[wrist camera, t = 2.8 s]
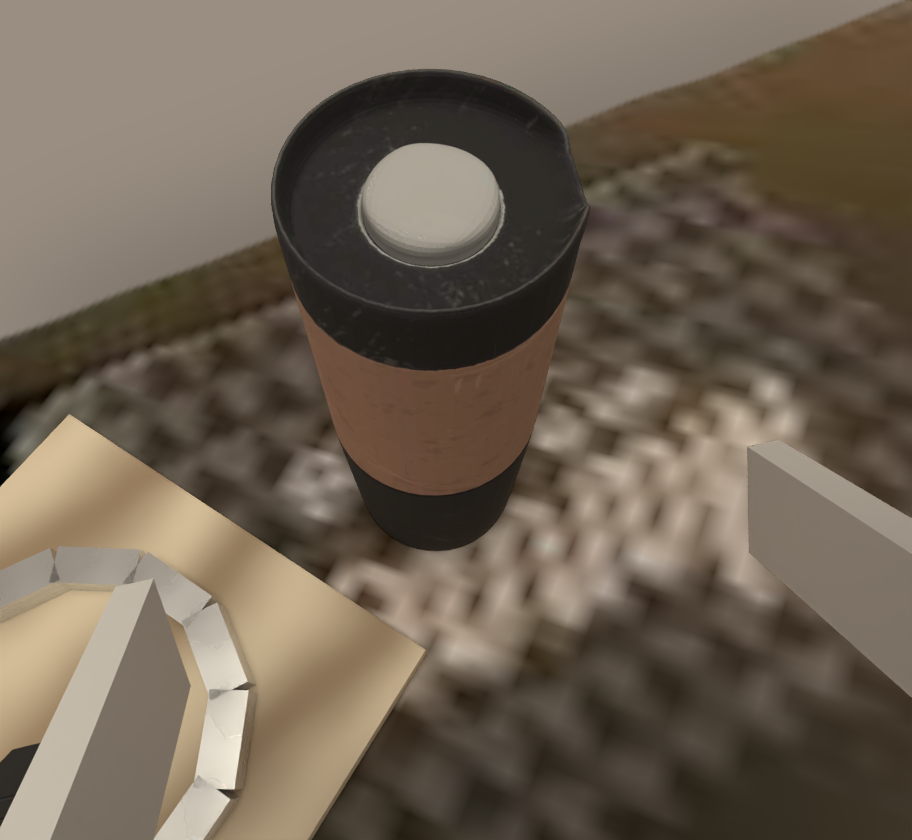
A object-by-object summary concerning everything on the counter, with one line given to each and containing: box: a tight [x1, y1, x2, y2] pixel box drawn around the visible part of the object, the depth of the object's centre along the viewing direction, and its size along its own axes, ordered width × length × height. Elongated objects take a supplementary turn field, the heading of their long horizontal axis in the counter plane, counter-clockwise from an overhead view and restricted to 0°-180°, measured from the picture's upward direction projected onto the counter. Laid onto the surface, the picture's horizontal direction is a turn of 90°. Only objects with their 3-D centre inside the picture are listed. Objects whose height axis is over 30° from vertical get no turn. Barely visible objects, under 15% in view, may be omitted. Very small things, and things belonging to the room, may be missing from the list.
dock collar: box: [0, 546, 257, 840], centre depth 28 cm, size 14×14×2 cm
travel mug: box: [271, 69, 590, 551], centre depth 26 cm, size 8×8×20 cm
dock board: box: [0, 414, 426, 840], centre depth 30 cm, size 20×20×2 cm
